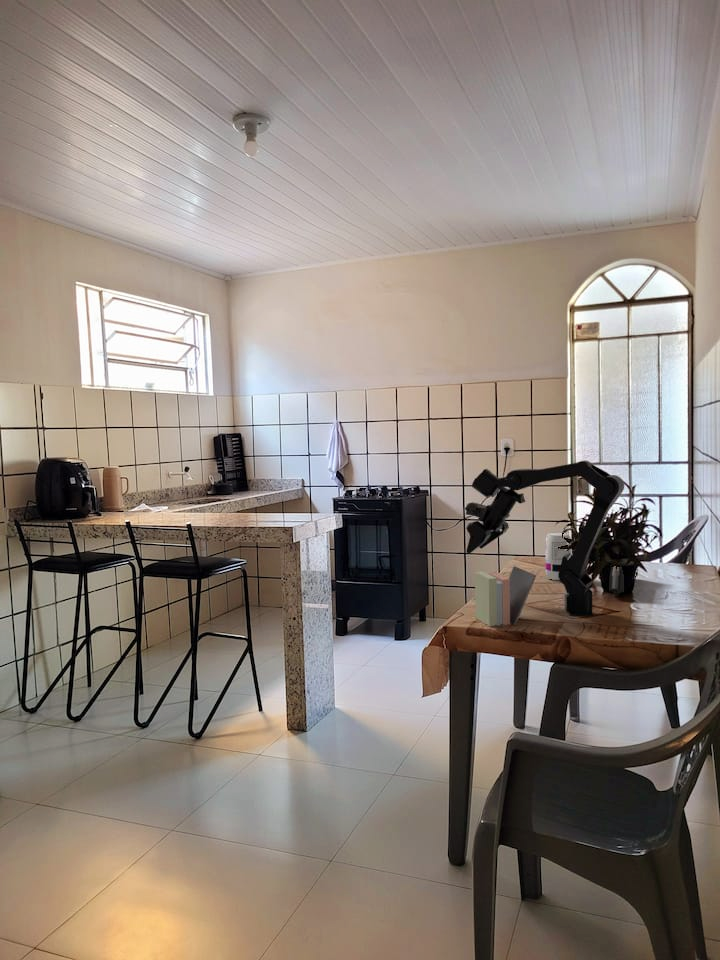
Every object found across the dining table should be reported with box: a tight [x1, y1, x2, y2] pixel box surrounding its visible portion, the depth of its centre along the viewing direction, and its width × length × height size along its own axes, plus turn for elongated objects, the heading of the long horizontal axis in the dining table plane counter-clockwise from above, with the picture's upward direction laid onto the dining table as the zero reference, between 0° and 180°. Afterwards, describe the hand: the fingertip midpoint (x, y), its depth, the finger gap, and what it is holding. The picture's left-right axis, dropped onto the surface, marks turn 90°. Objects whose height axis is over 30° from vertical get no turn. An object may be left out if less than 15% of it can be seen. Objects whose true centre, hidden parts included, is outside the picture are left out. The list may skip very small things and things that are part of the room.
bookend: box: [508, 565, 537, 626], centre depth 188 cm, size 1×12×14 cm, turn 13°
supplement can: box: [545, 531, 572, 581], centre depth 235 cm, size 8×8×15 cm
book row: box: [474, 571, 511, 627], centre depth 186 cm, size 6×9×12 cm, turn 14°
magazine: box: [608, 566, 639, 598], centre depth 219 cm, size 17×3×30 cm
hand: (473, 550), depth 208 cm, fingers open, 9 cm apart
